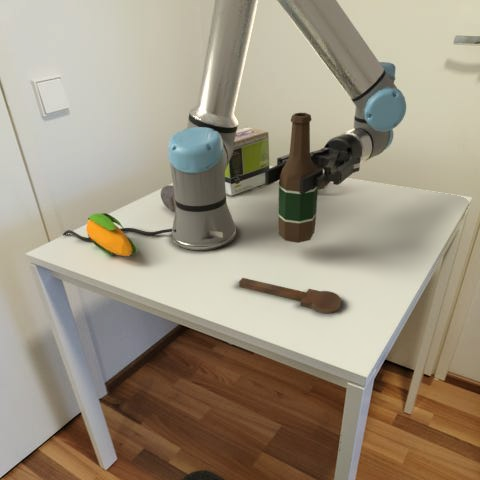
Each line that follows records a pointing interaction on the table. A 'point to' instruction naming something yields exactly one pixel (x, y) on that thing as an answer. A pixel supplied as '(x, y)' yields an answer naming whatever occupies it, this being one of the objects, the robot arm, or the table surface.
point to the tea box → (247, 161)
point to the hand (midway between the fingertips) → (283, 182)
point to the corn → (109, 235)
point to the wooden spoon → (298, 295)
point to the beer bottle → (297, 186)
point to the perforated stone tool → (168, 197)
